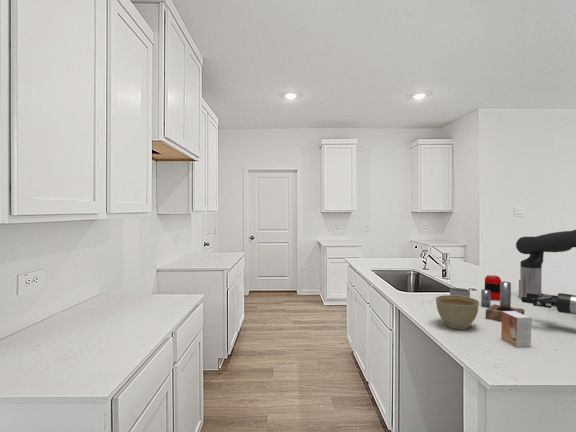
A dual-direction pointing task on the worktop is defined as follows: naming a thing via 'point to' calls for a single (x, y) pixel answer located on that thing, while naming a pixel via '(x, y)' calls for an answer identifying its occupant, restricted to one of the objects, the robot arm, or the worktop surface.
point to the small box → (516, 328)
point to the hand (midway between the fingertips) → (524, 297)
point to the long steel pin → (505, 296)
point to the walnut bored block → (498, 312)
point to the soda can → (493, 286)
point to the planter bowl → (457, 310)
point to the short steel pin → (485, 298)
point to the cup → (460, 292)
